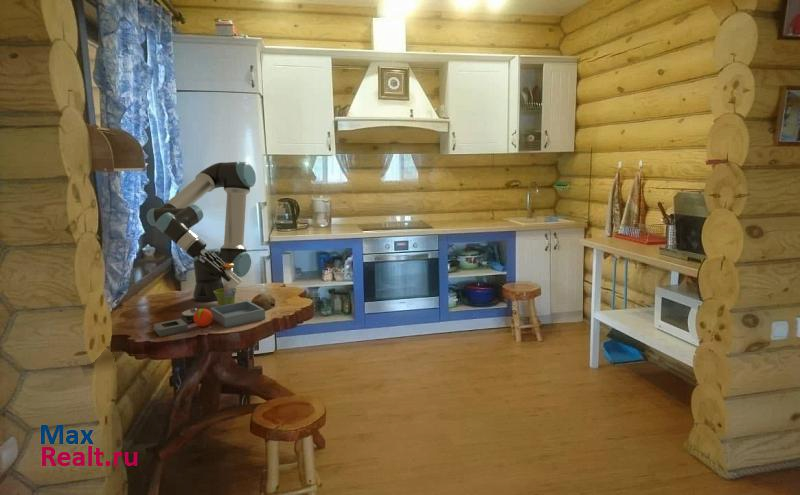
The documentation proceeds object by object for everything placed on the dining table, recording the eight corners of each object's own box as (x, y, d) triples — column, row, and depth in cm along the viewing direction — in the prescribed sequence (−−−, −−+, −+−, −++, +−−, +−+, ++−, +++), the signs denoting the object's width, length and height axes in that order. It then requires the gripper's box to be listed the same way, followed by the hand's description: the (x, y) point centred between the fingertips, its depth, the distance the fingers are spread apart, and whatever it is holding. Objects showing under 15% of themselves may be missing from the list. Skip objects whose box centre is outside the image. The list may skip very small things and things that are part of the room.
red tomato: (209, 329, 185) (207, 311, 184) (190, 330, 184) (188, 312, 183) (215, 322, 193) (214, 305, 192) (197, 323, 192) (196, 306, 191)
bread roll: (265, 318, 209) (271, 302, 207) (244, 308, 210) (250, 292, 208) (275, 312, 218) (281, 296, 216) (255, 302, 219) (261, 286, 218)
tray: (210, 317, 201) (210, 307, 200) (248, 309, 210) (247, 300, 210) (225, 327, 187) (224, 317, 186) (265, 318, 196) (264, 309, 196)
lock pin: (221, 295, 195) (218, 264, 193) (233, 293, 198) (231, 262, 196) (225, 298, 191) (222, 265, 189) (238, 296, 194) (235, 264, 192)
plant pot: (213, 308, 213) (211, 289, 212) (235, 305, 218) (234, 286, 216) (217, 313, 205) (215, 294, 204) (240, 310, 210) (238, 290, 208)
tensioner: (149, 325, 192) (148, 314, 192) (202, 314, 205) (201, 304, 204) (160, 336, 178) (158, 325, 177) (216, 324, 190) (215, 313, 190)
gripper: (193, 248, 199) (237, 286, 203) (177, 255, 183) (226, 296, 186) (205, 235, 199) (249, 273, 203) (191, 240, 182) (239, 282, 186)
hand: (238, 284), depth 194 cm, fingers closed on lock pin, 4 cm apart
